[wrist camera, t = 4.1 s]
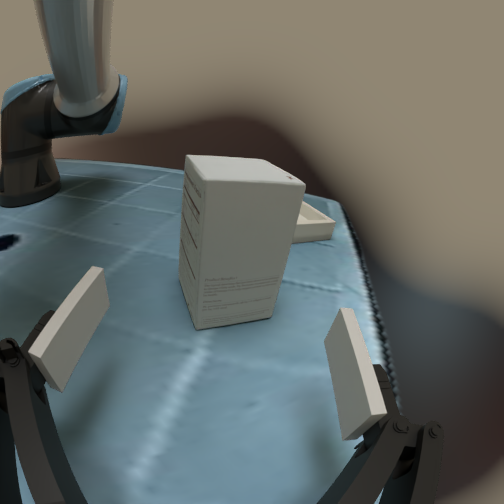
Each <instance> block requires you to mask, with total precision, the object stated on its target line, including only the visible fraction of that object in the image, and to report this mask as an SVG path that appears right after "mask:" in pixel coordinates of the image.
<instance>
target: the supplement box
mask: <svg viewBox="0 0 504 504" xmlns="http://www.w3.org/2000/svg"><path fill="white" fill-rule="evenodd" d="M305 188H306V185H305V184H304V183H303V182H302V181H300V180H299V179H297V178H296V177H294V176H293V175H291V174H289V173H287V172H285V171H284V170H282V169H280V168H278V167H276V166H274V165H273V164H271V163H269V162H267V161H265V160H262V159H249V158H236V157H220V156H199V155H186V160H185V170H184V182H183V195H182V212H181V229H180V249H179V280H180V283H181V287H182V290H183V293H184V296H185V299H186V302H187V306H188V309H189V312H190V315H191V318H192V320H193V323H194V326H195V329H196V330H199V329H205V328H211V327H218V326H224V325H230V324H236V323H242V322H248V321H253V320H259V319H264V318H270V317H271V316H272V313H273V309H274V306H275V302H276V299H277V295H278V292H279V288H280V285H281V281H282V277H283V274H284V270H285V267H286V263H287V259H288V255H289V252H290V248H291V244H292V240H293V236H294V232H295V228H296V224H297V220H298V217H299V213H300V208H301V205H302V201H303V197H304V192H305Z"/></svg>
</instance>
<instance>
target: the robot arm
mask: <svg viewBox="0 0 504 504" xmlns="http://www.w3.org/2000/svg"><path fill="white" fill-rule="evenodd" d="M113 1H114V0H34V4H35V10H36V14H37V19H38V23H39V27H40V31H41V35H42V39H43V42H44V46H45V49H46V53H47V56H48V59H49V62H50V65H51V68H52V71H53V74H45V75H41V76H36V77H32V78H29V79H26V80H23V81H21V82H18V83H16V84H14V85H12V86H11V87H10V88H9V89H7V91H6V92H5V93H4V96H3V102H2V109H1V158H2V165H1V171H0V205H1V206H5V207H15V206H22V205H26V204H30V203H34V202H37V201H40V200H42V199H45V198H47V197H49V196H51V195H53V194H54V193H56V192H57V191H58V190H59V189H60V187H61V183H60V175H59V172H58V169H57V166H56V163H55V160H54V157H53V154H52V147H51V146H52V139H54V138H62V137H72V136H83V135H97V134H98V135H103V134H107V133H113V132H115V131H116V130H117V129H118V128H119V125H120V122H121V117H122V111H123V107H124V102H125V96H126V90H127V82H128V81H127V77H126V76H125V75H121V74H118V73H117V71H116V69H115V68H114V66H113V65H111V64H110V39H111V22H112V10H113ZM109 307H110V304H109V299H108V293H107V288H106V282H105V276H104V270H103V268H99V267H94V266H92V267H91V268H90V269H89V270H88V272H87V273H86V274H85V275H84V276H83V278H82V279H81V280H80V281H79V282H78V284H77V285H76V286H75V287H74V289H73V290H72V291H71V292H70V294H69V295H68V296H67V298H66V299H65V300H64V301H63V303H62V304H61V305H60V307H59V308H58V309H57V311H56V312H55V311H52V310H50V311H49V312H47V313H46V314H44V315H43V316H42V318H41V319H40V320H39V322H38V324H36V326H35V327H34V330H32V331H31V333H30V334H29V336H28V337H27V339H26V340H25V341H24V343H23V344H22V346H21V347H19V346H18V344H17V342H16V341H15V340H14V339H12V338H5V339H3V340H1V341H0V504H22V499H21V494H20V489H19V482H18V476H17V467H16V457H15V445H16V449H17V453H18V456H19V460H20V463H21V466H22V469H23V472H24V475H25V478H26V481H27V484H28V487H29V489H30V492H31V494H32V497H33V499H34V501H35V504H88V503H87V501H86V499H85V497H84V495H83V494H82V492H81V490H80V487H79V485H78V483H77V481H76V479H75V477H74V475H73V472H72V470H71V468H70V465H69V463H68V460H67V458H66V455H65V453H64V450H63V447H62V445H61V442H60V439H59V436H58V433H57V430H56V427H55V424H54V420H53V417H52V413H51V410H50V406H49V402H48V398H47V394H46V389H45V387H44V384H45V382H47V383H48V384H49V386H50V387H51V388H53V389H55V390H57V391H59V392H61V393H62V392H63V390H64V388H65V386H66V384H67V382H68V380H69V378H70V376H71V374H72V372H73V370H74V368H75V366H76V364H77V363H78V361H79V359H80V357H81V355H82V353H83V351H84V350H85V348H86V346H87V344H88V342H89V341H90V339H91V337H92V335H93V334H94V332H95V330H96V328H97V327H98V325H99V323H100V322H101V320H102V318H103V316H104V315H105V313H106V312H107V310H108V308H109ZM324 344H325V349H326V353H327V358H328V363H329V368H330V373H331V378H332V383H333V388H334V394H335V399H336V405H337V410H338V416H339V422H340V428H341V434H342V441H344V440H355V439H358V438H359V437H360V436H361V435H363V438H364V440H363V441H362V442H360V443H359V444H358V445H357V446H356V447H355V448H354V449H357V448H358V449H357V450H356V452H355V453H354V455H353V456H352V458H351V459H350V461H349V462H348V464H347V465H346V466H345V468H344V469H343V471H342V472H341V473H340V475H339V476H338V478H337V479H336V480H335V482H334V483H333V484H332V486H331V487H330V488H329V489H328V491H327V492H326V493H325V494H324V496H323V497H322V498H321V499H320V500H319V502H318V503H317V504H374V502H375V501H376V499H377V498H378V496H379V494H380V493H381V491H382V489H383V487H384V489H383V492H382V496H381V499H380V502H379V504H434V500H435V496H436V491H437V486H438V479H439V473H440V467H441V459H442V450H443V439H444V431H443V428H442V426H441V425H440V424H439V423H438V422H436V421H430V422H428V423H426V424H425V425H424V426H422V425H416V424H411V423H410V422H409V421H408V419H407V418H405V417H404V416H401V415H400V413H399V410H398V407H397V404H396V401H395V398H394V395H393V391H392V389H391V385H390V382H389V379H388V377H387V374H386V372H385V370H384V369H383V368H382V366H381V365H380V364H372V362H371V359H370V356H369V353H368V350H367V347H366V344H365V341H364V339H363V336H362V333H361V330H360V327H359V325H358V322H357V319H356V317H355V314H354V311H353V309H349V308H340V309H339V312H338V314H337V316H336V318H335V320H334V322H333V324H332V326H331V328H330V330H329V332H328V334H327V336H326V338H325V340H324ZM14 441H15V442H14Z"/></svg>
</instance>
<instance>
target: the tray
mask: <svg viewBox="0 0 504 504" xmlns="http://www.w3.org/2000/svg"><path fill="white" fill-rule="evenodd" d="M335 224H336V222H335V221H333V220H332V219H330V218H329V217H327V216H326V215H324V214H322V213H321V212H319V211H318V210H316V209H315V208H313V207H312V206H310V205H308V204H307V203H305V202H304V201H302V205H301V208H300V213H299V217H298V220H297V224H296V228H295V232H294V236H293V240H292V244H293V243H302V242H311V241H319V240H328V239H331V236H332V233H333V230H334V227H335Z"/></svg>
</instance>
